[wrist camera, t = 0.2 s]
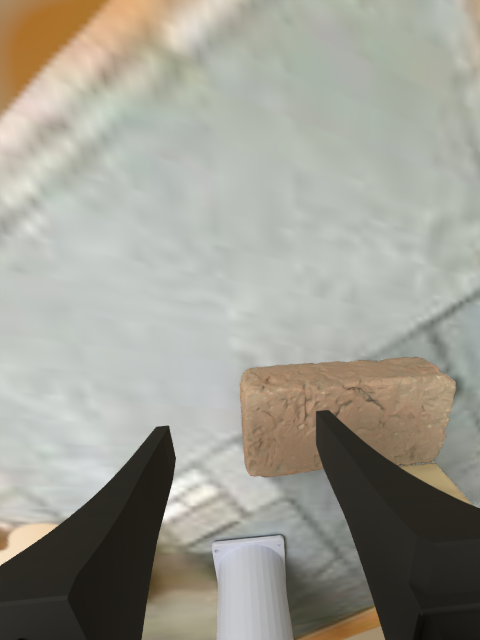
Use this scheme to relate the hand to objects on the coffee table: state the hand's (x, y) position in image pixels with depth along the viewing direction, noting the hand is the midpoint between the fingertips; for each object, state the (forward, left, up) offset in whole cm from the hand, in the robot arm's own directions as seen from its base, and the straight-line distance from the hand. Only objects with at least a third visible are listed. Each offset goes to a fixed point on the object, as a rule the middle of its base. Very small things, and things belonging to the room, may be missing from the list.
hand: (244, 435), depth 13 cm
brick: (-6, -8, -11) cm, 15 cm away
